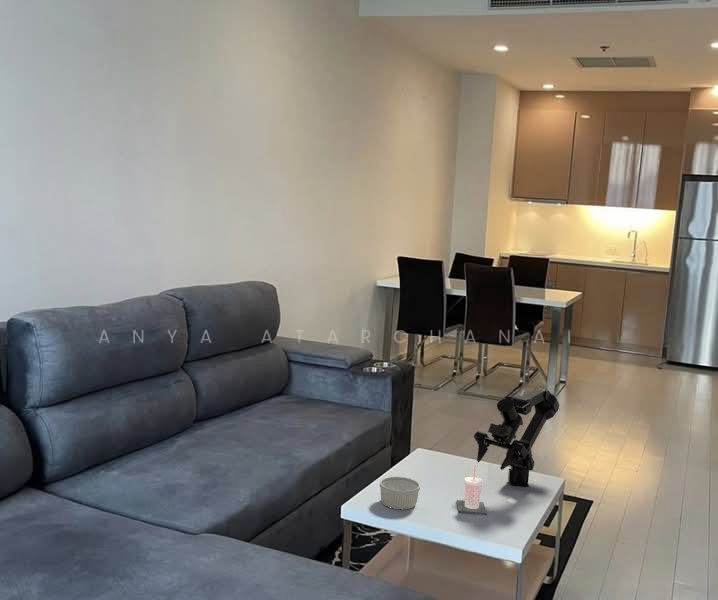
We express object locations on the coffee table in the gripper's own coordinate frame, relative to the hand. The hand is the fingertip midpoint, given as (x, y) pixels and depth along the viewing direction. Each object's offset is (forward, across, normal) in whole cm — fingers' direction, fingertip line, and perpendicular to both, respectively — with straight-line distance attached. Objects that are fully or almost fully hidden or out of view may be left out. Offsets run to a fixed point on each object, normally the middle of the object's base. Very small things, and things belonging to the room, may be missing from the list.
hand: (489, 465), depth 249 cm
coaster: (+16, +1, +1) cm, 16 cm away
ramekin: (+27, -17, -10) cm, 34 cm away
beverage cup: (+16, +1, +1) cm, 16 cm away
